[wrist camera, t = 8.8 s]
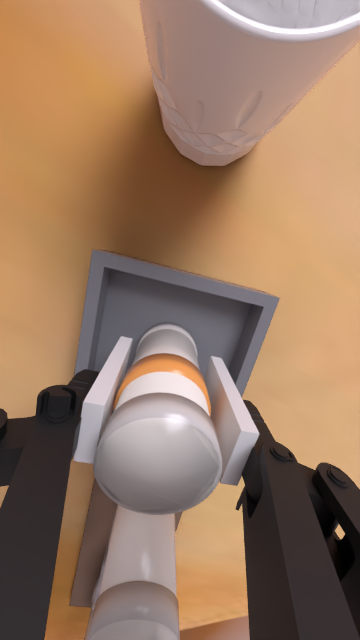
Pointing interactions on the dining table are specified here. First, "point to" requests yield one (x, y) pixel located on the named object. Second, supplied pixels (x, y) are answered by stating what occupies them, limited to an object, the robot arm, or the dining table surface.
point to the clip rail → (95, 547)
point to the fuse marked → (160, 429)
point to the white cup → (239, 66)
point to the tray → (171, 313)
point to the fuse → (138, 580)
